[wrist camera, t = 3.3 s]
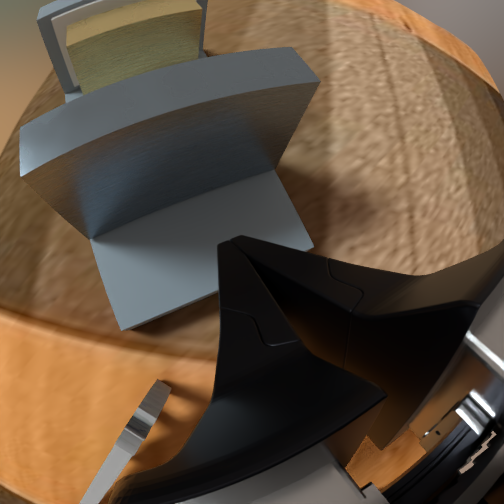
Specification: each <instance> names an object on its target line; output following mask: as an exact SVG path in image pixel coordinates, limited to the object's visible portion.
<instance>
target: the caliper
mask: <svg viewBox="0 0 504 504" xmlns="http://www.w3.org/2000/svg"><path fill="white" fill-rule="evenodd" d="M170 391H171V387H169V386H167V385H166V384H164V383H163V382H161V381H160V380H158V379H157V381H156V382H155V383H154V385H153V386H152V388H151V389H150V390H149V392H148V393H147V395H146V396H145V398H144V399H143V401H142V402H141V404H140V405H139V407H138V408H137V410H136V411H135V413H134V415H133V416H132V418H131V419H130V421H129V422H128V424H127V425H126V426H125V428H124V430H123V432H122V433H121V435H120V436H119V438H118V440H117V441H116V443H115V445H114V447H113V448H112V450H111V452H110V453H109V455H108V457H107V458H106V460H105V462H104V463H103V465H102V467H101V468H100V470H99V471H98V473H97V475H96V476H95V478H94V480H93V481H92V483H91V485H90V487H89V488H88V490H87V492H86V493H85V495H84V497H83V498H82V500H81V502H80V503H79V504H98V503H99V502H100V501H101V499H102V498H103V496H104V495H105V493H106V492H107V491H108V490H109V488H110V487H111V486H112V484H113V483H114V481H115V480H116V478H117V477H118V476H119V474H120V473H121V471H122V470H123V468H124V467H125V465H126V464H127V463H128V461H129V460H130V458H131V457H132V456H134V455H135V453H136V452H137V450H138V448H139V446H140V445H141V443H142V441H144V440H145V439H146V437H147V435H148V433H149V431H150V429H151V427H152V426H153V424H154V423H155V421H156V420H157V418H158V416H159V414H160V412H161V410H162V408H163V406H164V404H165V402H166V400H167V398H168V396H169V393H170Z"/></svg>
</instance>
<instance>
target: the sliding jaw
mask: <svg viewBox="0 0 504 504" xmlns="http://www.w3.org/2000/svg"><path fill="white" fill-rule="evenodd" d="M320 82H321V81H320V80H319V79H318V77H317V76H316V75H315V74H314V72H313V71H312V70H311V69H310V68H309V66H308V65H307V64H306V63H305V62H304V61H303V59H302V58H301V57H300V56H299V55H298V54H297V53H296V51H295V50H294V49H293V48H292V47H282V48H270V49H259V50H251V51H243V52H236V53H229V54H223V55H217V56H212V57H207V58H202V59H197V60H192V61H188V62H183V63H179V64H175V65H171V66H167V67H164V68H160V69H156V70H153V71H149V72H146V73H143V74H140V75H137V76H133V77H130V78H127V79H124V80H122V81H119V82H116V83H113V84H111V85H108V86H105V87H103V88H100V89H98V90H95V91H93V92H90V93H88V94H85V95H83V96H81V97H79V98H76V99H74V100H72V101H70V102H68V103H65V104H63V105H61V106H59V107H57V108H55V109H53V110H51V111H49V112H47V113H45V114H43V115H41V116H40V117H38V118H36V119H34V120H32V121H31V122H29V123H27V124H25V125H24V126H22V127H20V177H21V178H22V179H23V180H24V181H25V182H26V183H27V184H28V185H29V186H30V187H31V188H32V189H33V190H34V191H35V192H36V193H37V194H38V195H39V196H40V197H41V198H42V199H43V200H45V201H46V202H47V203H48V204H49V205H50V206H51V207H52V208H53V209H54V210H55V211H57V212H58V213H59V214H60V215H61V216H62V217H63V218H64V219H65V220H67V221H68V222H69V223H70V224H71V225H72V226H73V227H75V228H76V229H77V230H78V231H79V232H80V233H82V234H83V235H84V236H85V237H86V238H88V239H89V240H90V239H92V238H94V237H97V236H99V235H101V234H103V233H106V232H108V231H110V230H112V229H115V228H117V227H119V226H122V225H124V224H126V223H129V222H131V221H133V220H136V219H138V218H140V217H143V216H145V215H148V214H150V213H153V212H155V211H158V210H160V209H163V208H165V207H168V206H170V205H173V204H175V203H178V202H181V201H183V200H186V199H189V198H191V197H194V196H197V195H199V194H202V193H205V192H208V191H210V190H213V189H216V188H219V187H222V186H224V185H227V184H230V183H233V182H236V181H239V180H242V179H245V178H248V177H251V176H254V175H257V174H260V173H263V172H266V171H270V170H273V169H276V167H277V165H278V163H279V161H280V159H281V157H282V155H283V153H284V151H285V149H286V147H287V145H288V143H289V141H290V139H291V137H292V135H293V133H294V131H295V130H296V128H297V126H298V124H299V122H300V120H301V118H302V116H303V114H304V112H305V110H306V108H307V106H308V105H309V103H310V101H311V99H312V97H313V95H314V93H315V91H316V89H317V87H318V86H319V84H320Z"/></svg>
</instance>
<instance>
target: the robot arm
mask: <svg viewBox="0 0 504 504" xmlns="http://www.w3.org/2000/svg"><path fill="white" fill-rule="evenodd" d="M217 265H218V289H219V309H220V310H219V313H220V337H219V349H218V357H217V365H216V373H215V381H214V388H213V393H212V398H211V401H210V404H209V406H208V408H207V409H206V411H205V413H204V414H203V416H202V417H201V419H200V421H199V422H198V424H197V425H196V427H195V429H194V430H193V432H192V433H191V435H190V436H189V438H188V439H187V441H186V443H185V444H184V446H183V447H182V448H181V450H180V451H179V452H178V453H177V454H176V455H175V456H174V457H173V458H171V459H170V460H168V461H167V462H165V463H163V464H162V465H159V466H157V467H154V468H151V469H147V470H144V471H140V472H136V473H133V474H130V475H128V476H125V477H123V478H122V479H120V480H119V481H118V482H117V483H116V485H115V487H114V489H113V491H112V493H111V495H110V498H109V501H108V504H504V239H503V240H502V242H501V243H500V244H498V245H497V246H495V247H494V248H492V249H490V250H488V251H486V252H484V253H482V254H480V255H477V256H475V257H472V258H470V259H468V260H465V261H463V262H460V263H458V264H455V265H453V266H450V267H448V268H445V269H443V270H440V271H437V272H435V273H432V274H428V275H421V276H414V275H407V274H401V273H396V272H390V271H385V270H380V269H374V268H369V267H364V266H359V265H355V264H351V263H347V262H342V261H339V260H335V259H331V258H327V257H324V256H320V255H316V254H312V253H309V252H305V251H301V250H298V249H294V248H290V247H286V246H283V245H279V244H275V243H271V242H267V241H264V240H260V239H256V238H252V237H248V236H245V235H239V236H236V237H234V238H231V239H230V241H229V240H226V241H224V242H221V243H219V244H217ZM409 428H410V429H411V430H412V431H413V432H414V434H415V435H416V436H417V437H418V438H419V439H420V440H421V441H420V442H419V443H420V445H421V446H422V447H423V448H424V449H425V451H426V452H427V453H426V454H425V455H424V456H422V457H421V458H420V459H419V460H418V461H417V462H416V463H414V464H413V465H412V466H411V467H410V468H409V469H407V470H406V471H405V472H404V473H402V474H401V475H400V476H399V477H397V478H396V479H395V480H394V481H392V482H391V483H390V484H388V485H387V486H386V487H384V488H383V489H382V490H380V491H379V490H378V489H377V488H376V486H375V485H374V484H373V483H372V482H369V483H368V484H366V485H365V486H363V487H361V488H359V486H358V485H357V484H356V482H355V481H354V480H353V479H352V477H351V476H350V475H349V473H348V472H347V471H346V469H345V467H346V466H347V464H348V463H349V461H350V460H351V458H352V457H353V455H354V454H355V452H356V451H357V449H358V447H359V446H360V444H361V443H362V441H363V440H364V438H365V436H366V435H367V436H368V437H369V438H370V439H371V440H372V441H373V443H374V444H375V445H376V446H377V447H378V448H379V449H380V450H383V449H384V448H385V447H387V446H388V445H389V444H391V443H392V442H393V441H394V440H396V439H397V438H398V437H399V436H401V435H402V434H403V433H404V432H405V431H407V430H408V429H409ZM492 431H494V432H495V433H496V434H497V435H496V436H494V437H493V438H492V439H491V440H490V441H489V442H488V443H487V446H488V448H487V449H486V450H485V451H484V452H482V453H481V454H480V455H479V456H477V457H476V458H475V459H474V460H473V463H474V466H472V467H471V468H470V469H468V470H467V471H465V472H464V473H462V474H461V473H460V471H459V470H460V469H461V468H462V467H464V466H465V465H467V464H468V463H469V462H470V461H471V456H473V455H474V454H475V453H477V452H478V451H479V450H480V449H481V448H482V446H481V445H482V444H483V443H484V442H485V441H486V440H488V439H489V438H490V437H491V435H492V434H491V432H492Z"/></svg>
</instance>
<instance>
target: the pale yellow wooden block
mask: <svg viewBox="0 0 504 504" xmlns="http://www.w3.org/2000/svg"><path fill="white" fill-rule="evenodd" d="M201 18H202V8H201V6H200V5H199V4H198V3H197V2H196V1H195V0H146V1H141V2H137V3H133V4H130V5H126V6H122V7H119V8H116V9H112V10H109V11H106V12H103V13H100V14H97V15H94V16H92V17H89V18H86V19H83V20H81V21H78V22H76V23H73V24H71V25H68V26H67V35H66V48H67V51H68V54H69V57H70V60H71V63H72V65H73V68H74V71H75V74H76V77H77V79H78V82H79V85H80V88H81V90H82V93H83V95H85V94H88V93H90V92H93V91H95V90H98V89H100V88H103V87H105V86H108V85H111V84H113V83H116V82H119V81H122V80H124V79H127V78H130V77H133V76H137V75H140V74H143V73H146V72H149V71H153V70H156V69H160V68H164V67H167V66H171V65H175V64H179V63H183V62H188V61H192V60H197V59H198V55H199V41H200V29H201Z"/></svg>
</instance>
